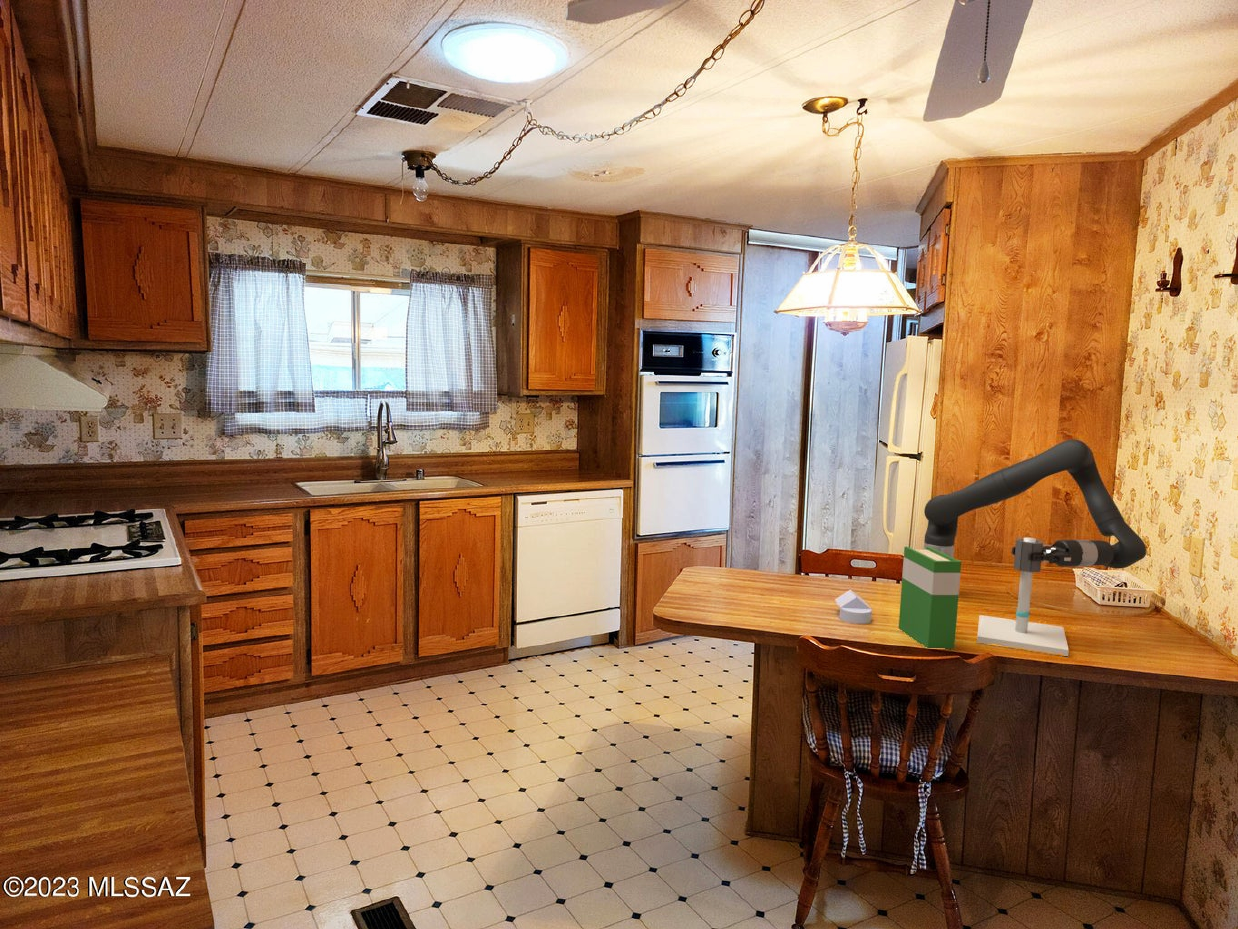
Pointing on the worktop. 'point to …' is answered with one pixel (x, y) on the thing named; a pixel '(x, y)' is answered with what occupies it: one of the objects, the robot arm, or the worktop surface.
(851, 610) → the wedge on round base
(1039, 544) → the collar
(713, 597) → the worktop surface
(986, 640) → the post board
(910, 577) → the hardback book
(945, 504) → the robot arm
